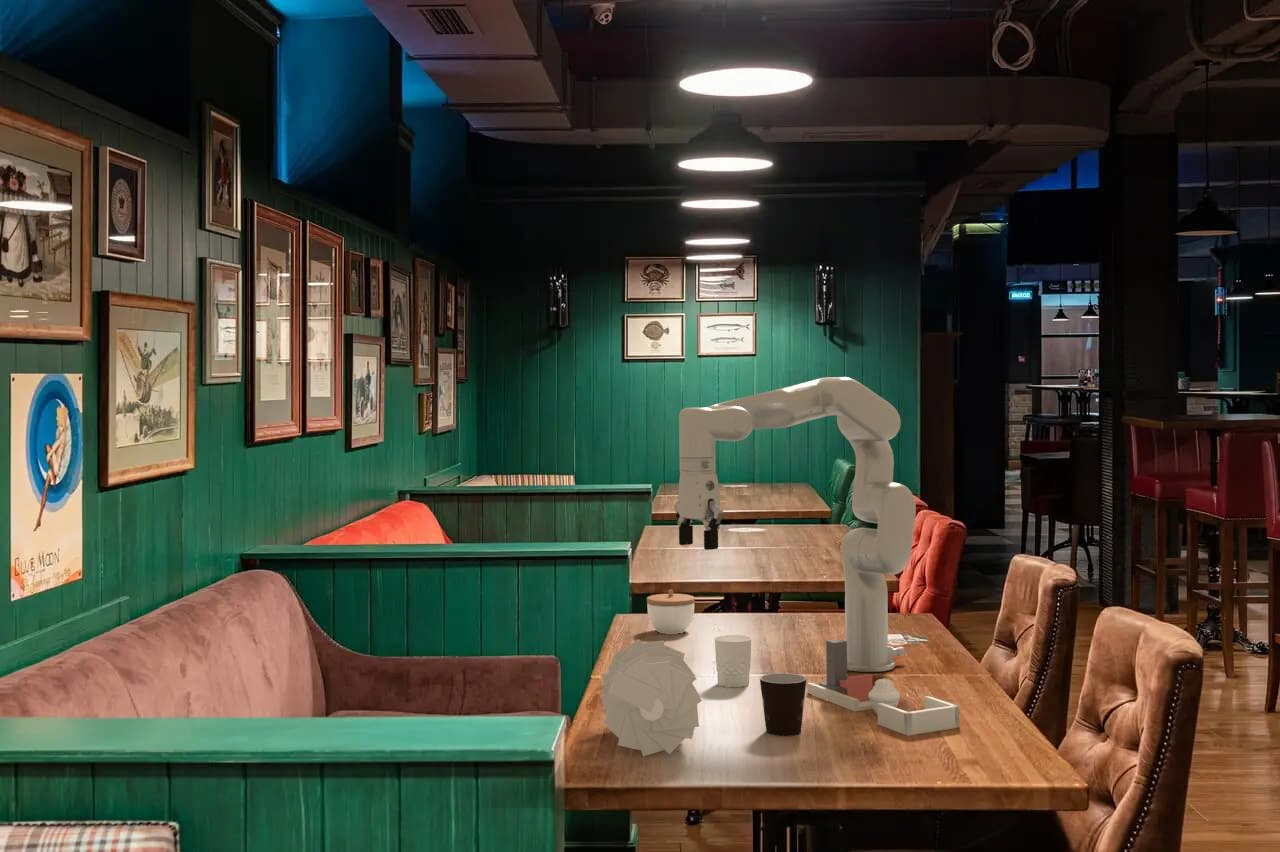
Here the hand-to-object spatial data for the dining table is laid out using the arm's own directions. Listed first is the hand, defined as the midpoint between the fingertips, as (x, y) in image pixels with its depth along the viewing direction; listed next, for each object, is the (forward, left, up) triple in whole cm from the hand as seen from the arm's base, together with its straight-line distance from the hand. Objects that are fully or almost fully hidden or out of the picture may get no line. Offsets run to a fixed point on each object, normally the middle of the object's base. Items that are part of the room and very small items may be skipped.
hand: (698, 546), depth 272 cm
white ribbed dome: (-22, +35, -31) cm, 51 cm away
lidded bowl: (-25, -61, -31) cm, 73 cm away
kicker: (-22, +22, -29) cm, 42 cm away
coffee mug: (+1, +36, -31) cm, 47 cm away
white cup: (-9, -1, -31) cm, 32 cm away
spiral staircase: (+27, +31, -31) cm, 52 cm away
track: (-22, +22, -30) cm, 44 cm away
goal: (-22, +45, -30) cm, 59 cm away
